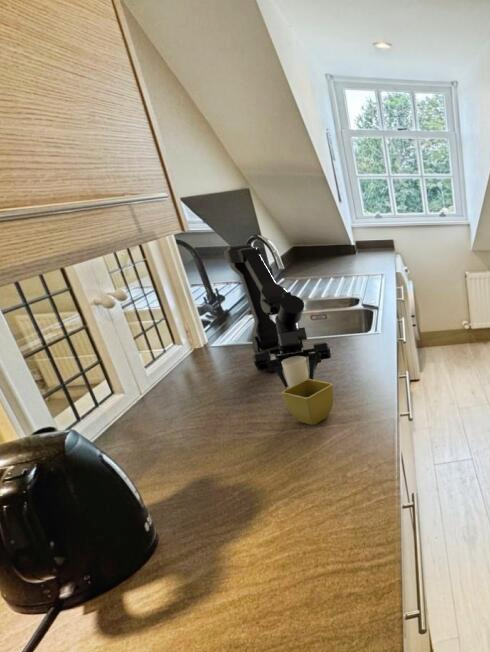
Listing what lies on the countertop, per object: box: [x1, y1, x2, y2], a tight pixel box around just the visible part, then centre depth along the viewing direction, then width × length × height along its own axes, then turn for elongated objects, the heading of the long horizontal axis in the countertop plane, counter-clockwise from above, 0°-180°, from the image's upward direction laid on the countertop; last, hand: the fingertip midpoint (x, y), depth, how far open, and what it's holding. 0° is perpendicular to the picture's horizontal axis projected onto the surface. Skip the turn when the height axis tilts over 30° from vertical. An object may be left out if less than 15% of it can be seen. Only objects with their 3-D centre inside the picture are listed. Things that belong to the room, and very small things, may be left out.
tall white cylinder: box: [281, 356, 310, 389], centre depth 120 cm, size 6×6×13 cm
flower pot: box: [281, 379, 334, 426], centre depth 113 cm, size 9×9×9 cm
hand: (298, 384), depth 119 cm, fingers closed on tall white cylinder, 6 cm apart
